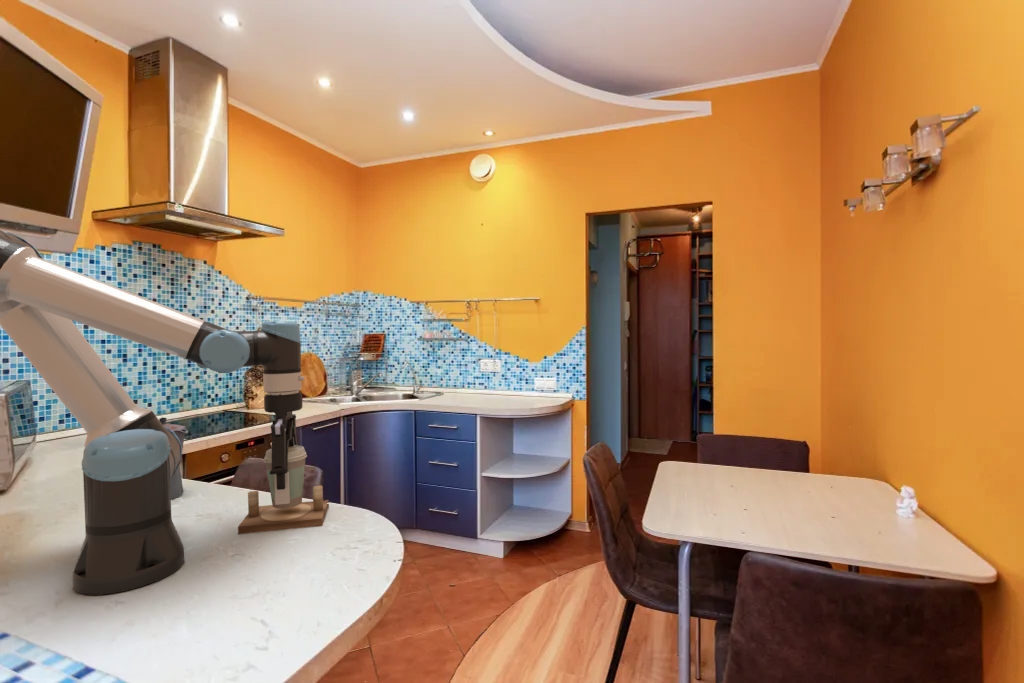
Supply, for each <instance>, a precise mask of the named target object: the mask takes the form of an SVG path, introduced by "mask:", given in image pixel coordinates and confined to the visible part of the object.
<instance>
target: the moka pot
mask: <svg viewBox="0 0 1024 683" xmlns="http://www.w3.org/2000/svg"><path fill="white" fill-rule="evenodd" d="M158 419H159V421H160V422H161V423H162V425H163V426H165V427H167V428H168V429H170V430H171V431H173V432H174V433H175V434H176V435H177V437H178V438H179V440H180V443H181V447H182V450H184V449H183V448H184V440H185V436H186V434H188V433H189V431H188V430H187V428H186V426H185V425H182V424H181V425H180V424H172V423H171V424H170V423H166V422H167V417H160V418H158ZM181 472H182V471H181V465H179V467H178V468H177V470H176V471H175V473H174V474H173V475H172V477H171V479H170V488H171V500H174V499H177V498H180V497H181V496H182V495H183V494H184V487H183V480H182V473H181Z"/></svg>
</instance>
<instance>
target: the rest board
mask: <svg viewBox="0 0 1024 683" xmlns="http://www.w3.org/2000/svg"><path fill="white" fill-rule="evenodd" d="M323 489H324V488H323V485H314V486H313V487H312V501H302V503H301V504H299V505H297V506H295V507H291V508H285V509H277V508H274V507H273V505H272V504H271V505H270V504H269V505H260V504H259V503H260V502H259V501H260V500H259V499H260V498H259V491H258V490H252V491H249V492H247V503H248V505H247V508H248V509H247V510H248V513H247V514H246V515H245V517H244V518H243V520H242V521H241V522H240V523H239V525H238V526H237V535H243V534H252V533H253V534H255V533H261V532H272V531H273V532H274V531H282V530H291V529H292V530H293V529H302V528H311V527H312V528H313V527H320V526H321V527H322V526H323V523H324V522H325V518H326V515H327V512H328V510H329V507H330V504H327V503H330V502H329V499H325V500H324V494H323V493H324V491H323Z"/></svg>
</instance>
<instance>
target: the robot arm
mask: <svg viewBox="0 0 1024 683" xmlns="http://www.w3.org/2000/svg"><path fill="white" fill-rule="evenodd" d="M74 322H76V323H78V324H79V323H80V324H82V325H85V326H88V327H91V328H93V329H97V330H100V331H103V332H106V333H108V334H112V335H114V336H118V337H120V338H123V339H127V340H129V341H131V342H135V343H138V344H141V345H144V346H146V347H149V348H152V349H155V350H158V351H161V352H165V353H167V354H170V355H173V356H176V357H179V358H182V359H185V360H188V361H189V362H193V363H195V364H196V365H197V367H199V369H209V370H211V371H213V372H217V373H221V374H230V373H233V372H235V371H238V370H241V369H242V368H246V367H258V366H259V367H261V366H262V369H263V370H262V372H263V373H262V375H263V376H262V379H263V382H262V383H263V385H262V386H263V392H264V393H266V394H264V396H263V405H264V407H263V408H264V411H265V412H266V413H271V414H272V413H273V414H274V415H275V416H274V420H272V424H271V426H270V429H271V430H270V432H271V449H272V469H271V471H270V474H274V483H275V505H279V504H289V503H290V490H289V472H287V471H288V469H287V468H288V447H293V446H294V445H297V446H298V440H297V424H296V423H297V421H296V418H297V415H296V414H293V412H297V411H300V410H302V409H303V393H302V392H301V390H302V381H304V380H305V376H303V375H302V348H301V346H302V344H301V343H302V341H301V331H300V325H299V323H297V322H296V321H295V320H274V321H273V320H271V321H270V320H269V321H268V320H267V321H263V322H262V323H261V328H260V329H259V330H230V329H227V328H225V327H222V326H219V325H217V324H214V323H211V322H208V321H205V319H204V320H203V319H201V318H198V317H196V316H193V315H191V314H188V313H185V312H182V311H179V310H177V309H174V308H172V307H170V306H167V305H164V304H162V303H159V302H156V301H154V300H151V299H149V298H146V297H144V296H141V295H139V294H135V293H133V292H130V291H128V290H125V289H122V288H120V287H118V286H115V285H112V284H109V283H106V282H103V281H101V280H99V279H96V278H94V277H91V276H90V275H89V276H88V275H85V274H83V273H81V272H78V271H75V270H73V269H70V268H67V267H65V266H62V265H59V264H57V263H54V262H53V261H52V262H51V261H49V260H47V259H44V258H43V256H42V254H41V253H40V252H39V251H38V249H37V248H36V247H35V246H34V245H33V244H31V243H29V242H28V241H27V240H26V239H24V238H23V237H20V236H19V235H17V234H13V233H11V232H8V231H4V230H2V229H0V327H1V328H2V329H3V330H4V331H5V333H6V334H7V335H8V337H9V338H10V339H11V340H12V341H13V343H14V345H15V346H17V347H18V349H19V350H20V351H21V353H22V354H23V355H24V356H25V358H26V359H27V360H28V361H29V363H30V364H31V365H32V367H33V368H34V369H35V370H36V371H37V372H38V374H39V375H40V376H41V377H42V379H43V380H44V381H45V383H46V384H47V385H48V386H49V387H50V388H51V390H52V391H53V393H54V394H55V395H56V397H57V398H58V399H59V400H60V401H61V403H62V404H63V405H64V406H65V407H66V409H67V410H68V411H69V413H70V414H71V415H72V416H73V417H74V418H75V420H76V421H77V423H79V425H80V426H81V427H82V428H83V431H85V432H86V439H85V442H84V446H83V447H84V449H83V452H82V453H83V454H82V460H81V470H82V476H83V480H82V481H83V500H84V505H83V506H84V523H85V524H84V525H85V527H84V528H85V537H84V540H83V543H82V545H81V549H80V552H79V554H78V558H77V560H76V563H75V566H74V569H73V572H72V588H73V591H75V592H76V593H79V594H83V595H91V596H92V595H93V596H94V595H95V596H97V595H98V596H99V595H108V594H115V593H121V592H125V591H129V590H133V589H138V588H141V587H144V586H146V585H150V584H152V583H155V582H157V581H160V580H162V579H164V578H166V577H169V576H170V575H172V574H173V573H174V572H176V571H177V570H179V569H180V568H182V566H183V565H184V563H185V547H184V544H183V542H182V540H181V537H180V536H179V533H178V530H177V528H176V526H175V525H174V522H173V519H172V499H171V488H170V479H171V477H172V475H173V474H174V473H175V471H176V470H177V468H178V467H179V466H181V465H180V464H181V461H182V457H183V449H182V447H181V443H180V440H179V438H178V437H177V435H176V434H175V433H174V432H173V431H171V430H170V429H168V428H167V427H165V426H163V425H162V423H161V422H160V420H159V419H160V418H158V417H157V415H156V414H155V413H154V412H153V410H152V409H151V408H144V407H140V406H137V405H136V403H135V401H133V399H132V398H131V397H130V395H129V394H128V393H127V391H126V390H125V388H123V386H122V385H121V384H120V382H119V380H118V379H117V378H116V377H115V376H114V374H113V373H112V372H111V370H110V368H108V367H107V365H106V363H105V362H104V361H103V360H102V358H101V357H100V356H99V354H98V353H97V352H96V351H95V349H94V348H93V346H92V345H91V344H90V343H89V341H88V340H87V339H86V338H85V336H84V335H83V333H82V332H81V331H80V329H79V328H78V327H77V326H76V324H75V323H74ZM301 375H302V376H301ZM278 466H281V467H278Z"/></svg>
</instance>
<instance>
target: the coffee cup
mask: <svg viewBox="0 0 1024 683" xmlns="http://www.w3.org/2000/svg"><path fill="white" fill-rule="evenodd" d="M307 457H308V455H307V452H306V450H305V447H304V446H303V445H298V444H297V445H294V446H293V447H288V468H287V469H288V471H287V472H289V490H290V503H289V504H279V505H275V483H274V474H270V471H271V469H272V448H270V449H267V450H266V451H265V456H264V458H263V463H265V467H266V468H265V469H266V475H267V480H268V486H269V492H270V498H271V503H272V504H271V505H273V507H274V508H277V509H285V508H291V507H295V506H297V505H299V504H301V503H302V502H303V492H304V491H303V490H304V482H305V480H304V478H305V468H306V458H307ZM278 467H281V466H278Z"/></svg>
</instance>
